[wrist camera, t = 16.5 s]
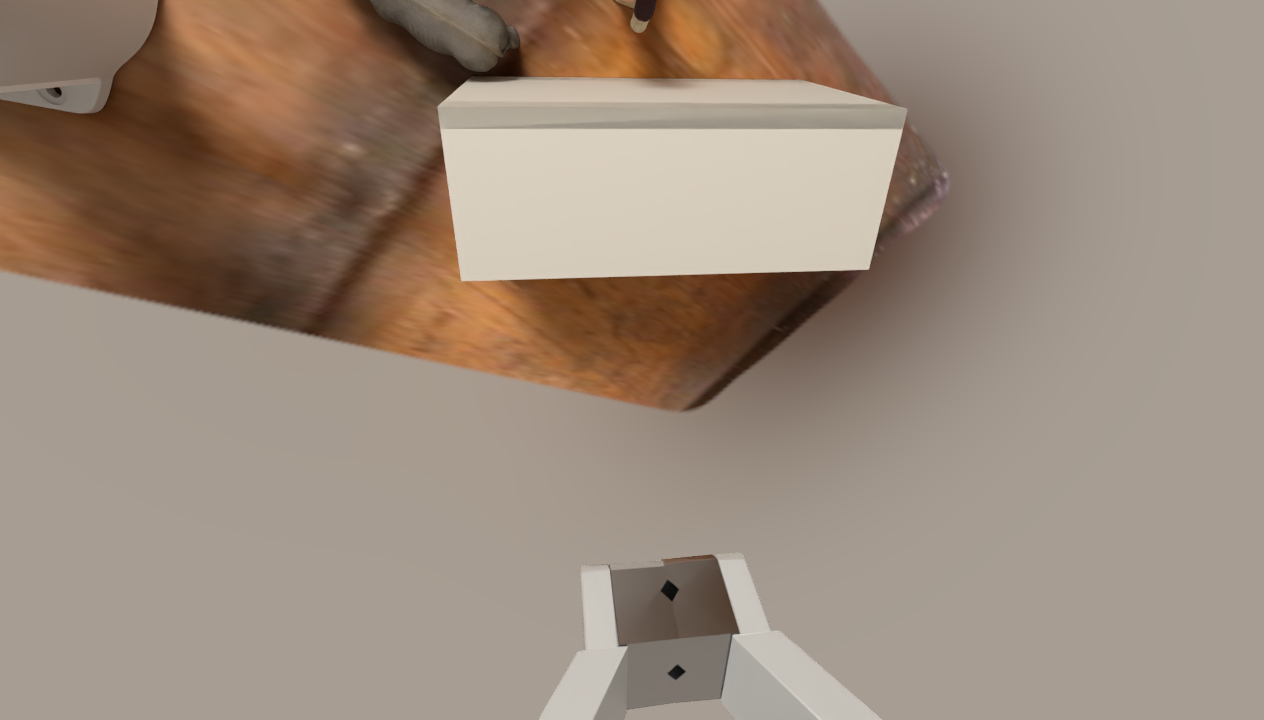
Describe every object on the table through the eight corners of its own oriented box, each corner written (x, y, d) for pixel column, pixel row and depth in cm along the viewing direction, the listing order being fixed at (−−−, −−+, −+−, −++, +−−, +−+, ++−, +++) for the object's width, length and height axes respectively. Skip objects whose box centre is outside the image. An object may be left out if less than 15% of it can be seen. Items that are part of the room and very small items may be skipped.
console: (486, 212, 46) (462, 291, 33) (471, 76, 41) (437, 106, 28) (782, 207, 49) (866, 278, 36) (802, 79, 44) (907, 109, 31)
